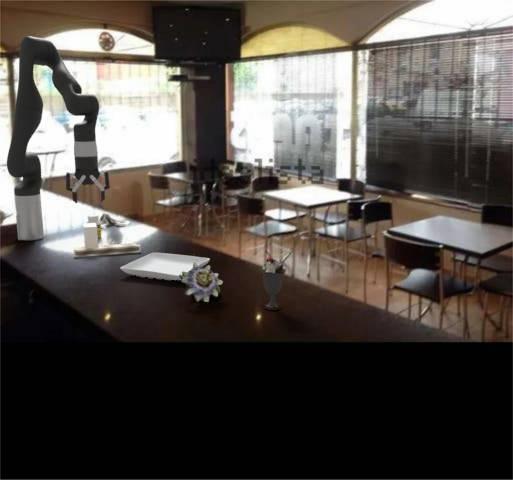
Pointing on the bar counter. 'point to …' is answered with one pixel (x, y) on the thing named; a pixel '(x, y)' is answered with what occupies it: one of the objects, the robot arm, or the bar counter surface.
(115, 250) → the shelf board
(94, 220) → the supplement bottle
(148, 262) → the salad plate
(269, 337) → the bar counter surface
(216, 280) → the passion flower
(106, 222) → the cloth
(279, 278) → the sundae
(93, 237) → the carton
